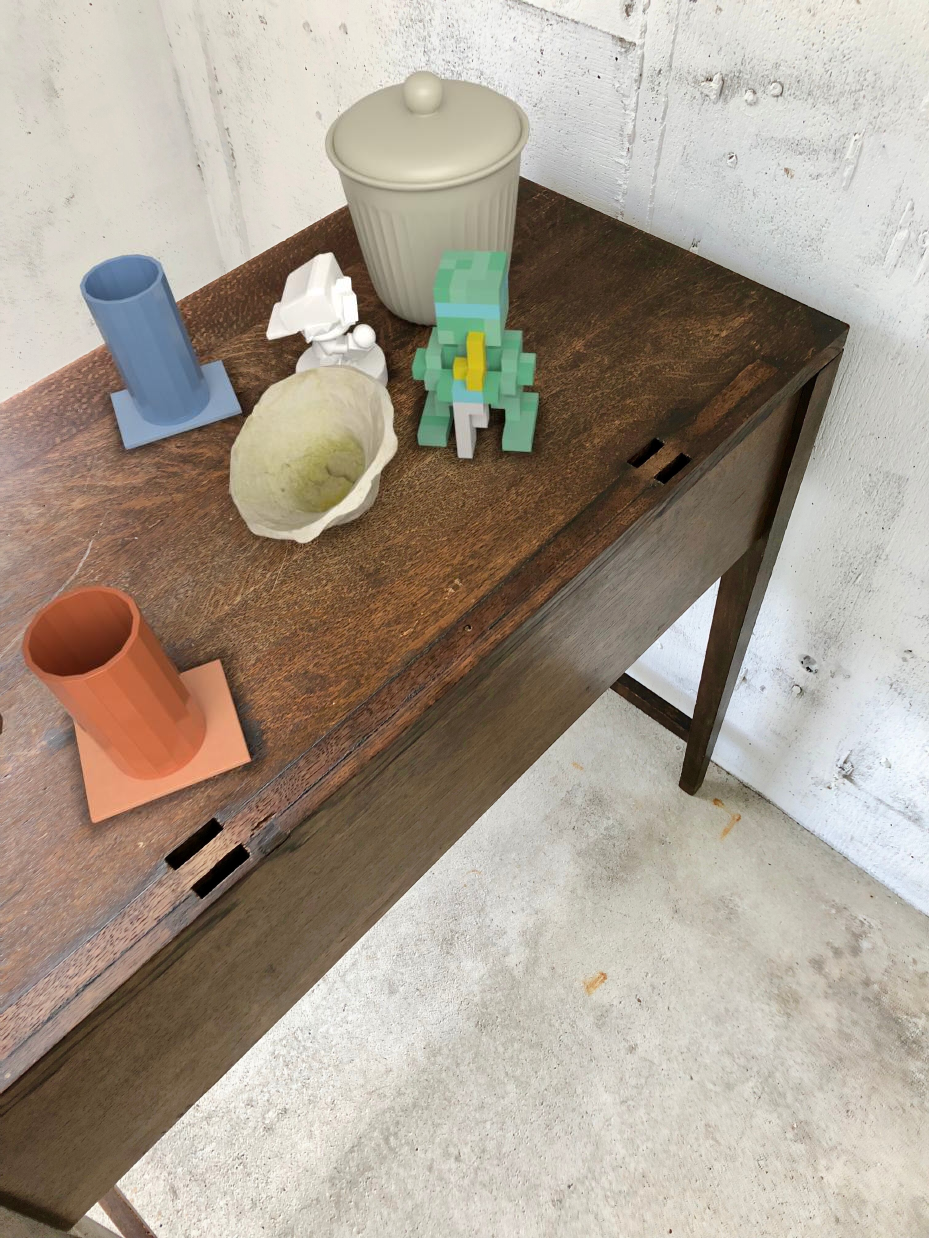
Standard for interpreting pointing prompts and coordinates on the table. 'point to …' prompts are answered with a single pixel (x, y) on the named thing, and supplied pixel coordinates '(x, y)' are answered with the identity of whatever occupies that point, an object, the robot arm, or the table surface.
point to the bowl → (312, 452)
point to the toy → (474, 357)
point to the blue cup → (146, 338)
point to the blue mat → (144, 432)
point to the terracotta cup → (115, 680)
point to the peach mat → (215, 756)
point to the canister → (428, 180)
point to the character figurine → (326, 319)
